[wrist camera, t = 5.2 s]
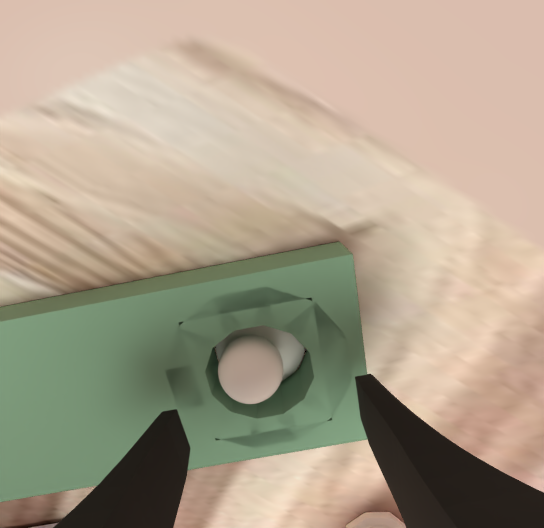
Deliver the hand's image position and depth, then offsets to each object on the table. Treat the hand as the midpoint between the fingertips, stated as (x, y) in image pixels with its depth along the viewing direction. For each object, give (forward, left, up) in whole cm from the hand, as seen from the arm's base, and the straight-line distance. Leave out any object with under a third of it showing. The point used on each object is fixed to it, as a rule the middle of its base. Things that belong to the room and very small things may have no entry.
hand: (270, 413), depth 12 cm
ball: (-1, 0, -3) cm, 3 cm away
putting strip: (-7, 0, -5) cm, 9 cm away
